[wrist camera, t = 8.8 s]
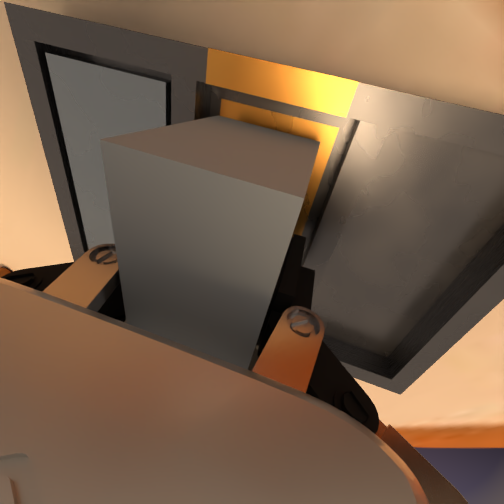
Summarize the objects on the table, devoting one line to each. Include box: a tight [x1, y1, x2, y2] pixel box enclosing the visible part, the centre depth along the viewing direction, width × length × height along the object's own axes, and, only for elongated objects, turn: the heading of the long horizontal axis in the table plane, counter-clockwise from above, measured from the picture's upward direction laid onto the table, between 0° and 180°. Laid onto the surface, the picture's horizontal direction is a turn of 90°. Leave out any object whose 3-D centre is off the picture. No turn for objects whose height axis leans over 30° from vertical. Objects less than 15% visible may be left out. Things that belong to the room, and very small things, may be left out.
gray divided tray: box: [4, 2, 504, 394], centre depth 13 cm, size 14×22×3 cm, turn 79°
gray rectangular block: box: [100, 115, 320, 370], centre depth 10 cm, size 10×4×6 cm, turn 169°
